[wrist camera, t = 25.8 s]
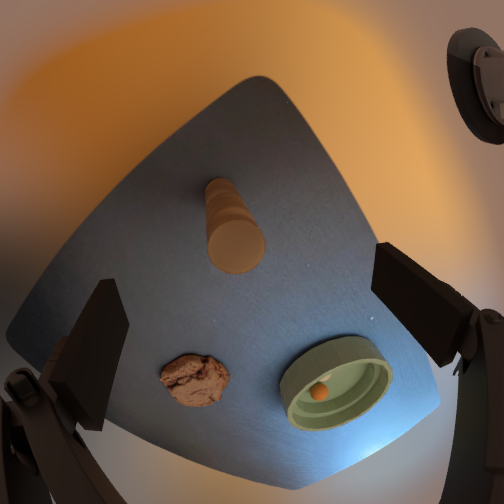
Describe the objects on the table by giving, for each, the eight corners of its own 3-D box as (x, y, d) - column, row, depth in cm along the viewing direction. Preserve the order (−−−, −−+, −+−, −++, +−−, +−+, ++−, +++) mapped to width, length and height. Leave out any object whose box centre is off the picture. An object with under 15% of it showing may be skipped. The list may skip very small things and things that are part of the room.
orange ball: (321, 391, 39) (320, 377, 42) (306, 399, 41) (306, 385, 43) (332, 398, 40) (331, 385, 43) (318, 406, 41) (317, 393, 44)
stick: (234, 176, 29) (263, 216, 15) (237, 206, 30) (267, 270, 17) (203, 180, 28) (203, 224, 15) (207, 209, 30) (211, 278, 16)
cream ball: (306, 380, 39) (316, 373, 37) (310, 364, 42) (320, 356, 40) (323, 386, 39) (334, 379, 37) (326, 370, 42) (336, 363, 40)
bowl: (384, 322, 41) (404, 345, 36) (365, 390, 48) (378, 412, 43) (277, 347, 39) (288, 377, 33) (278, 414, 46) (286, 440, 41)
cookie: (174, 401, 41) (174, 415, 38) (152, 357, 36) (150, 372, 34) (235, 393, 42) (237, 407, 39) (222, 346, 37) (224, 362, 35)
